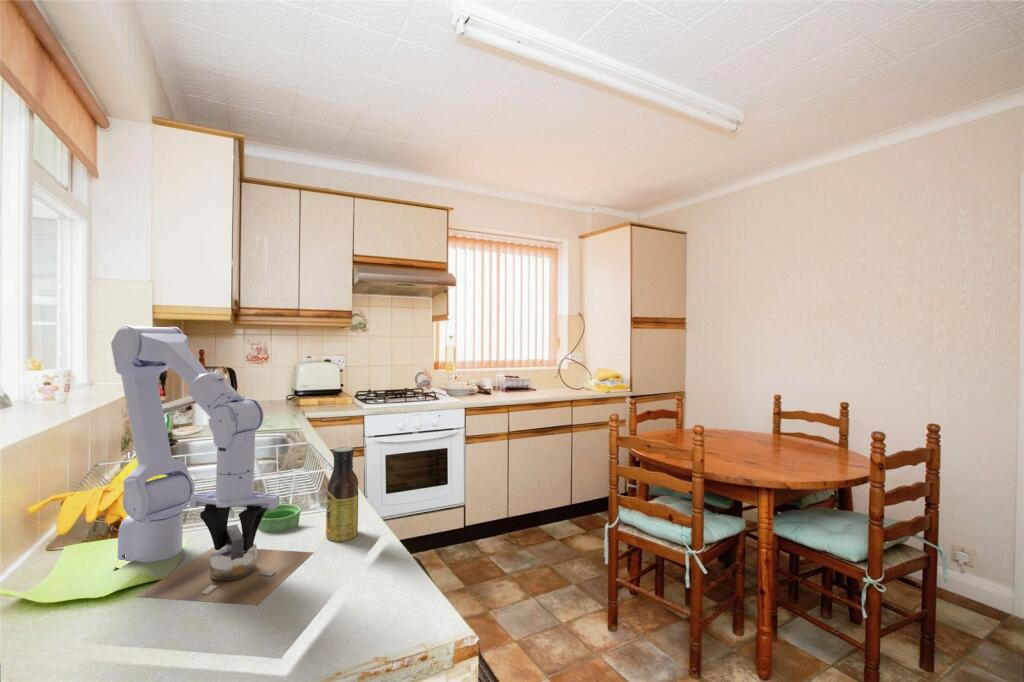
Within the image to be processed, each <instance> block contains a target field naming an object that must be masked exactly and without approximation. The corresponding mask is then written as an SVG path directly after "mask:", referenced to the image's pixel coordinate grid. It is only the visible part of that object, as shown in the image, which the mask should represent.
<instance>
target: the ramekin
mask: <svg viewBox="0 0 1024 682" xmlns="http://www.w3.org/2000/svg"><path fill="white" fill-rule="evenodd" d="M301 513H302V508H301V507H300V506H298V505H295V504H289V503H288V504H287V503H285V504H284V503H283V504H279V506H278V507H277V508H275V509H274V510H271V509H267V510H266V512H265V514H264V516H263V518H262V520H261V522H260V524H259V526H258V529H257V530H259V531H261V532H267V533H270V532H271V533H272V532H273V533H274V532H282V531H286V530H289V529H293V528H299V525H300V517H301V516H300V515H301Z"/></svg>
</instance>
